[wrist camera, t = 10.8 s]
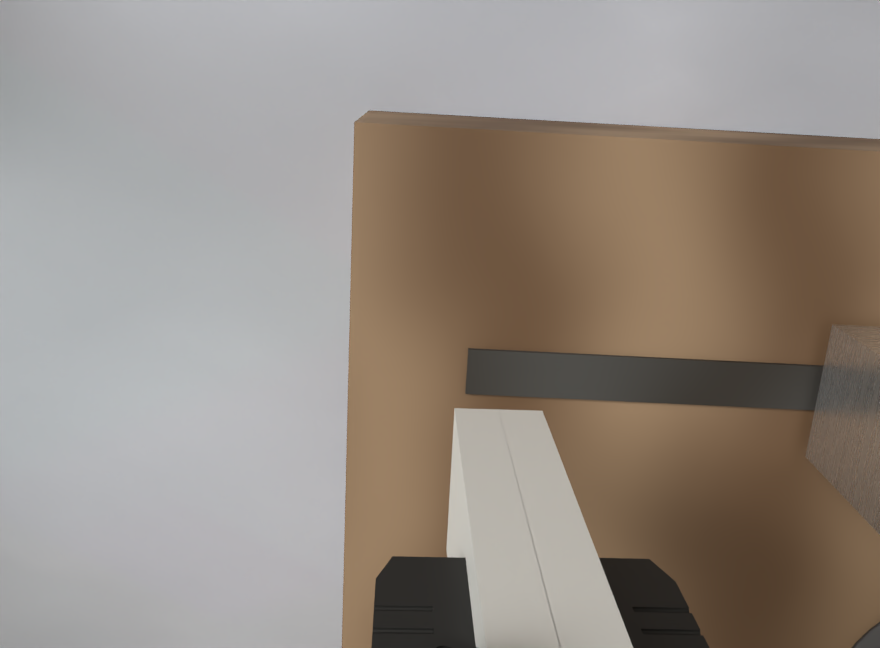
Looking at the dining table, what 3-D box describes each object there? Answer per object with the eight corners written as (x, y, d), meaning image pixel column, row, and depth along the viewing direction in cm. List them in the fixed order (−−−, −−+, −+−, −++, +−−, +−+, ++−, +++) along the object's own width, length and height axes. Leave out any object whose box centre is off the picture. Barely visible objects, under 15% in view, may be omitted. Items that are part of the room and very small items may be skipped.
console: (345, 916, 28) (332, 1056, 24) (368, 110, 20) (354, 122, 16) (908, 933, 28) (985, 1072, 24) (1144, 154, 20) (1312, 175, 17)
